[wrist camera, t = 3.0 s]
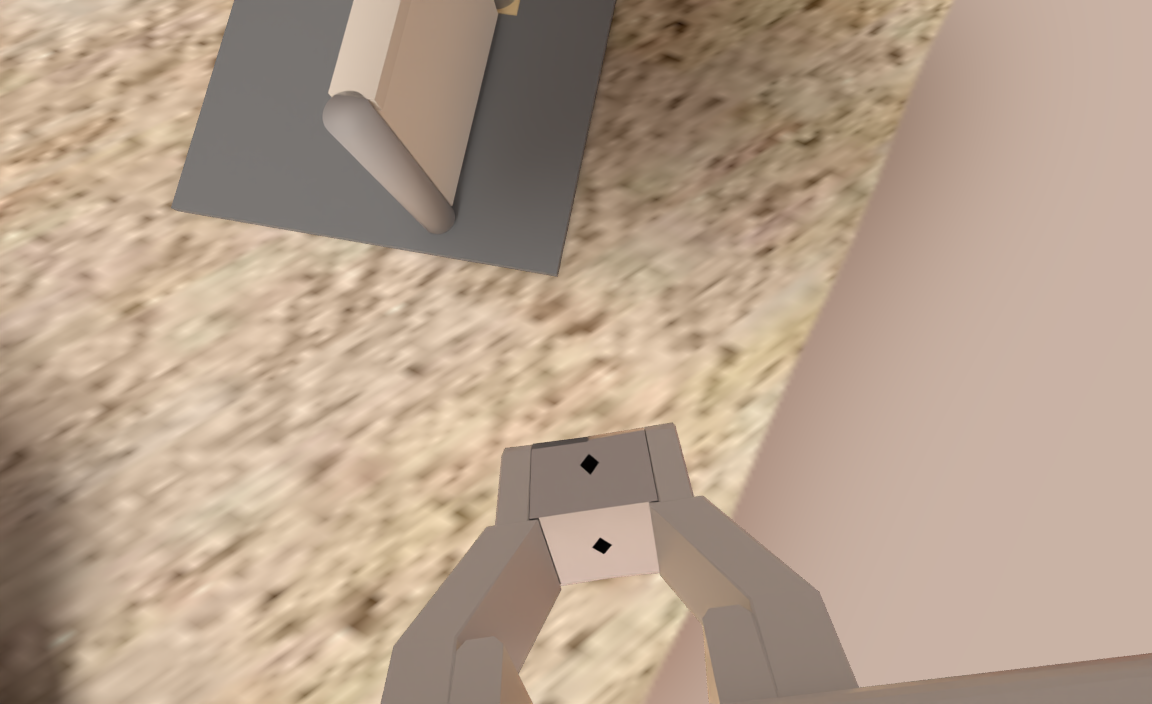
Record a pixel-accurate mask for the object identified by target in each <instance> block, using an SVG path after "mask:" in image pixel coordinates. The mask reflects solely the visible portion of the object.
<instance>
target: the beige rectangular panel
mask: <svg viewBox="0 0 1152 704" xmlns="http://www.w3.org/2000/svg"><path fill="white" fill-rule="evenodd" d="M497 17H498V12H497V9H496V6H495V2H494V0H354V1H353V5H352V8H351V12H350V15H349V19H348V23H347V26H346V30H345V34H344V37H343V41H342V44H341V48H340V52H339V55H338V59H337V63H336V66H335V70H334V74H333V77H332V81H331V84H330V88H329V92H328V94H329V95H330V96H331V97H332V98H331V99H329V101H328V102H327V103H326V105H325V107H324V110H323V116H322V117H323V123H324V126H325V128H326V129H327V130H328V131H329V132H330V133H331V134H332V135H333V136H334V137H335V138H336V139H337V140H338V141H339V142H340V143H341V144H342V145H343V146H344V147H345V148H346V149H347V150H348V151H349V152H350V153H351V154H352V155H353V156H354V157H355V158H356V159H357V160H358V161H359V162H360V164H361V165H362V166H363V167H364V168H365V169H366V170H367V171H368V172H369V173H370V174H371V175H372V176H373V177H374V178H375V179H376V180H377V181H378V182H379V183H380V184H381V185H382V186H383V187H384V188H385V189H386V190H387V191H388V192H389V193H390V194H391V195H392V196H393V197H394V198H395V199H396V200H397V201H398V202H399V203H400V204H401V205H402V206H403V207H404V208H405V209H406V210H407V211H408V212H409V213H410V214H411V215H412V216H413V217H414V218H415V219H416V220H417V221H418V222H419V223H420V224H421V225H422V226H423V227H424V228H425V229H426V230H427V231H428V232H430V233H432V234H443V233H445V232H447V231H448V230H449V229H450V228H451V227H452V226H453V224H454V221H455V213H454V210H453V208H452V207H451V206H452V205H453V201H454V197H455V193H456V188H457V184H458V180H459V176H460V172H461V167H462V163H463V159H464V155H465V151H466V147H467V142H468V138H469V134H470V130H471V126H472V122H473V117H474V113H475V109H476V105H477V101H478V97H479V92H480V88H481V84H482V80H483V76H484V71H485V67H486V63H487V59H488V55H489V51H490V46H491V42H492V38H493V34H494V30H495V26H496V21H497Z"/></svg>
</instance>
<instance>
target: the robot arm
mask: <svg viewBox="0 0 1152 704" xmlns="http://www.w3.org/2000/svg"><path fill="white" fill-rule="evenodd" d="M652 573H660V576H661V577H662V578H663V579H664V580H665V582H666V583H667V584H668V585H669V586H670V587H671V589H672V590H673V591H674V592H675V593H676V595H677V596H678V597H679V598H680V599H681V601H682V602H683V603H684V604H685V605H686V607H687V608H688V609H689V610H690V611H691V613H692V614H693V615H694V616H695V617H696V619H697V620H698V621H699V622H700V623H701V624H702V626H703V636H704V648H705V662H706V676H707V688H708V699H709V704H1152V653H1148V654H1140V655H1132V656H1123V657H1115V658H1107V659H1097V660H1090V661H1081V662H1072V663H1064V664H1055V665H1047V666H1039V667H1030V668H1022V669H1014V670H1005V671H997V672H988V673H979V674H971V675H962V676H954V677H945V678H937V679H928V680H920V681H911V682H903V683H895V684H887V685H877V686H869V687H860V688H859V686H858V684H857V682H856V679H855V677H854V674H853V672H852V669H851V667H850V665H849V662H848V660H847V657H846V655H845V653H844V650H843V648H842V645H841V643H840V640H839V638H838V636H837V633H836V631H835V628H834V626H833V624H832V621H831V619H830V616H829V614H828V612H827V609H826V607H825V604H824V602H823V600H822V597H821V595H820V592H819V591H818V590H816V589H815V588H814V587H813V586H811V585H810V584H809V583H808V582H807V581H805V580H804V579H803V578H802V577H801V576H799V575H798V574H797V573H796V572H794V571H793V570H792V569H791V568H790V567H789V566H787V565H786V564H785V563H784V562H782V561H781V560H780V559H779V558H778V557H776V556H775V555H774V554H773V553H771V552H770V551H769V550H768V549H767V548H766V547H764V546H763V545H762V544H761V543H759V542H758V541H757V540H756V539H755V538H754V537H752V536H751V535H750V534H749V533H748V532H746V531H745V530H744V529H743V528H741V527H740V526H739V525H738V524H737V523H735V522H734V521H733V520H732V519H731V518H729V517H728V516H727V515H726V514H725V513H723V512H722V511H721V510H720V509H719V508H717V507H716V506H715V505H714V504H713V503H711V502H710V501H709V500H708V499H706V498H705V497H704V496H696V497H694V495H693V491H692V487H691V483H690V479H689V476H688V472H687V468H686V464H685V460H684V457H683V453H682V449H681V445H680V441H679V438H678V434H677V430H676V426H675V425H674V424H673V423H666V424H660V425H654V426H648V427H645V428H636V429H630V430H624V431H618V432H612V433H606V434H600V435H594V436H588V437H583V438H575V439H567V440H559V441H552V442H544V443H536V444H533V445H526V446H518V447H510V448H505V449H504V451H503V453H502V457H501V467H500V478H499V489H498V500H497V510H496V521H495V525H494V526H488V527H486V528H485V530H484V531H483V532H482V533H481V535H480V536H479V537H478V539H477V540H476V541H475V542H474V544H473V545H472V546H471V548H470V549H469V550H468V551H467V553H466V554H465V555H464V556H463V558H462V559H461V560H460V562H459V563H458V564H457V565H456V567H455V568H454V569H453V571H452V572H451V573H450V574H449V576H448V577H447V578H446V580H445V581H444V582H443V583H442V585H441V586H440V587H439V589H438V590H437V591H436V592H435V594H434V595H433V596H432V598H431V599H430V600H429V601H428V603H427V604H426V605H425V607H424V608H423V609H422V610H421V612H420V613H419V614H418V616H417V617H416V618H415V619H414V621H413V622H412V623H411V625H410V626H409V627H408V628H407V630H406V631H405V632H404V634H403V635H402V636H401V637H400V639H399V640H398V641H397V643H396V644H395V645H394V646H393V651H392V655H391V660H390V664H389V669H388V673H387V678H386V682H385V687H384V691H383V695H382V700H381V704H533V703H532V701H531V699H530V697H529V695H528V693H527V691H526V689H525V687H524V685H523V683H522V681H521V679H520V677H519V675H518V674H519V672H520V670H521V668H522V666H523V664H524V662H525V660H526V658H527V656H528V654H529V652H530V650H531V648H532V646H533V644H534V642H535V640H536V638H537V636H538V634H539V632H540V630H541V628H542V626H543V624H544V623H545V621H546V619H547V617H548V615H549V613H550V611H551V609H552V607H553V605H554V603H555V601H556V599H557V597H558V595H559V593H560V591H561V586H564V585H570V584H577V583H583V582H589V581H595V580H601V579H607V578H615V577H624V576H634V575H643V574H652Z"/></svg>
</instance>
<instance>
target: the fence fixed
mask: <svg viewBox="0 0 1152 704" xmlns="http://www.w3.org/2000/svg"><path fill="white" fill-rule="evenodd" d="M494 2H495V6H496V9H502V8H505V7H507V6H509V5H510V4H511V3H513V2H514V0H494Z"/></svg>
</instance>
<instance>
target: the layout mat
mask: <svg viewBox="0 0 1152 704" xmlns="http://www.w3.org/2000/svg"><path fill="white" fill-rule="evenodd" d="M353 1H354V0H234V3H233V6H232V10H231V13H230V16H229V20H228V23H227V26H226V29H225V33H224V36H223V39H222V42H221V46H220V49H219V52H218V56H217V59H216V62H215V65H214V69H213V72H212V75H211V79H210V82H209V85H208V88H207V92H206V95H205V98H204V102H203V105H202V108H201V111H200V115H199V118H198V121H197V125H196V128H195V131H194V134H193V138H192V141H191V144H190V148H189V151H188V154H187V157H186V161H185V164H184V167H183V170H182V174H181V177H180V180H179V184H178V187H177V190H176V193H175V197H174V200H173V203H172V207H171V208H173V209H175V210H177V211H181V212H187V213H192V214H198V215H204V216H210V217H216V218H221V219H227V220H233V221H239V222H245V223H250V224H256V225H262V226H268V227H273V228H279V229H285V230H291V231H297V232H302V233H308V234H314V235H320V236H326V237H331V238H337V239H343V240H349V241H354V242H360V243H366V244H372V245H378V246H383V247H389V248H395V249H401V250H407V251H412V252H418V253H424V254H430V255H436V256H441V257H447V258H453V259H459V260H464V261H470V262H476V263H482V264H488V265H493V266H499V267H505V268H511V269H517V270H522V271H528V272H534V273H540V274H546V275H551V276H557V277H558V272H559V267H560V263H561V258H562V253H563V248H564V244H565V239H566V234H567V230H568V225H569V220H570V215H571V211H572V206H573V201H574V196H575V192H576V187H577V182H578V178H579V173H580V168H581V163H582V159H583V154H584V149H585V145H586V140H587V135H588V130H589V126H590V121H591V116H592V111H593V107H594V102H595V97H596V93H597V88H598V83H599V78H600V74H601V69H602V64H603V60H604V55H605V50H606V45H607V41H608V36H609V31H610V26H611V22H612V17H613V12H614V8H615V3H616V0H514V2H513V3H511V4H510V5H509V6H507V7H505V8H502V9H497V12H498V17H497V21H496V26H495V30H494V34H493V38H492V42H491V46H490V51H489V55H488V59H487V63H486V67H485V71H484V76H483V80H482V84H481V88H480V92H479V97H478V101H477V105H476V109H475V113H474V117H473V122H472V126H471V130H470V134H469V138H468V142H467V147H466V151H465V155H464V159H463V163H462V167H461V172H460V176H459V180H458V184H457V188H456V193H455V197H454V201H453V205H452V206H451V207H452V208H453V210H454V213H455V221H454V224H453V226H452V227H451V228H450V229H449V230H448V231H447V232H445V233H443V234H432V233H430V232H428V231H427V230H426V229H425V228H424V227H423V226H422V225H421V224H420V223H419V222H418V221H417V220H416V219H415V218H414V217H413V216H412V215H411V214H410V213H409V212H408V211H407V210H406V209H405V208H404V207H403V206H402V205H401V204H400V203H399V202H398V201H397V200H396V199H395V198H394V197H393V196H392V195H391V194H390V193H389V192H388V191H387V190H386V189H385V188H384V187H383V186H382V185H381V184H380V183H379V182H378V181H377V180H376V179H375V178H374V177H373V176H372V175H371V174H370V173H369V172H368V171H367V170H366V169H365V168H364V167H363V166H362V165H361V164H360V162H359V161H358V160H357V159H356V158H355V157H354V156H353V155H352V154H351V153H350V152H349V151H348V150H347V149H346V148H345V147H344V146H343V145H342V144H341V143H340V142H339V141H338V140H337V139H336V138H335V137H334V136H333V135H332V134H331V133H330V132H329V131H328V130H327V129H326V128H325V126H324V123H323V117H322V116H323V110H324V107H325V105H326V103H327V102H328V101H329V99H331V98H332V97H331V96H330V95H329V94H328V92H329V88H330V84H331V81H332V77H333V74H334V70H335V66H336V63H337V59H338V55H339V52H340V48H341V44H342V41H343V37H344V34H345V30H346V26H347V23H348V19H349V15H350V12H351V8H352V5H353Z"/></svg>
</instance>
